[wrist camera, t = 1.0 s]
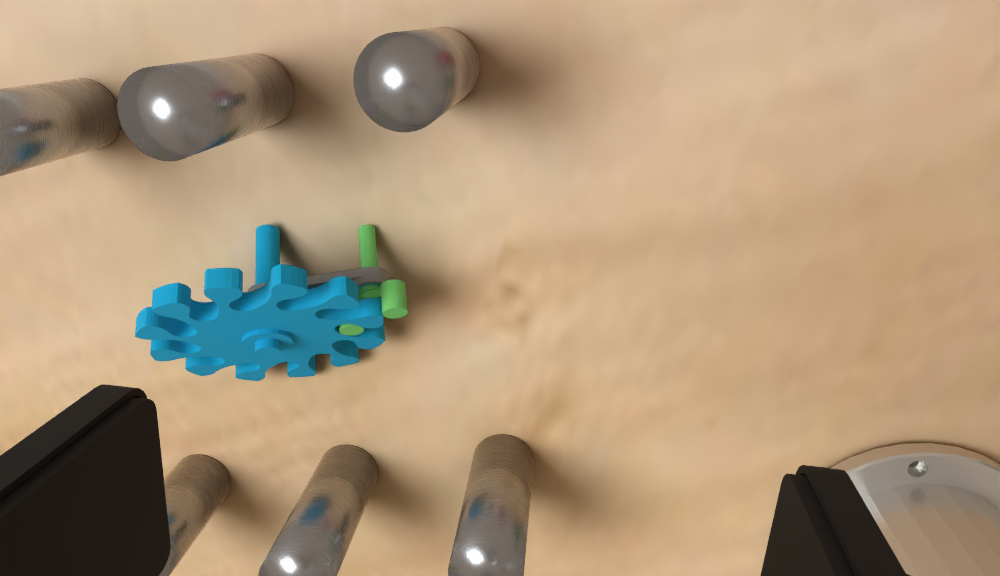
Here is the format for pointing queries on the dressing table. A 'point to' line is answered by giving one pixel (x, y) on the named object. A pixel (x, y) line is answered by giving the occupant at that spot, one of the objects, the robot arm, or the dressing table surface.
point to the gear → (274, 314)
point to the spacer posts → (225, 117)
